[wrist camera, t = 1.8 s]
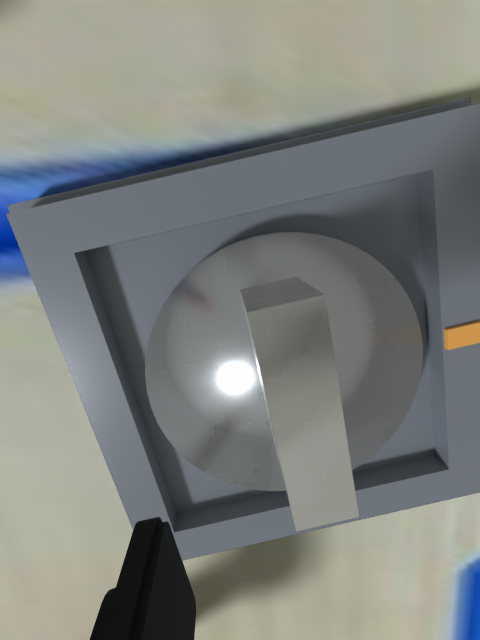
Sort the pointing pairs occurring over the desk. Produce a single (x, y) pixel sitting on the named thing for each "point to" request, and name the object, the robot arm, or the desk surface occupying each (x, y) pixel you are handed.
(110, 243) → the dial housing
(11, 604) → the desk surface
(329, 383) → the dial
